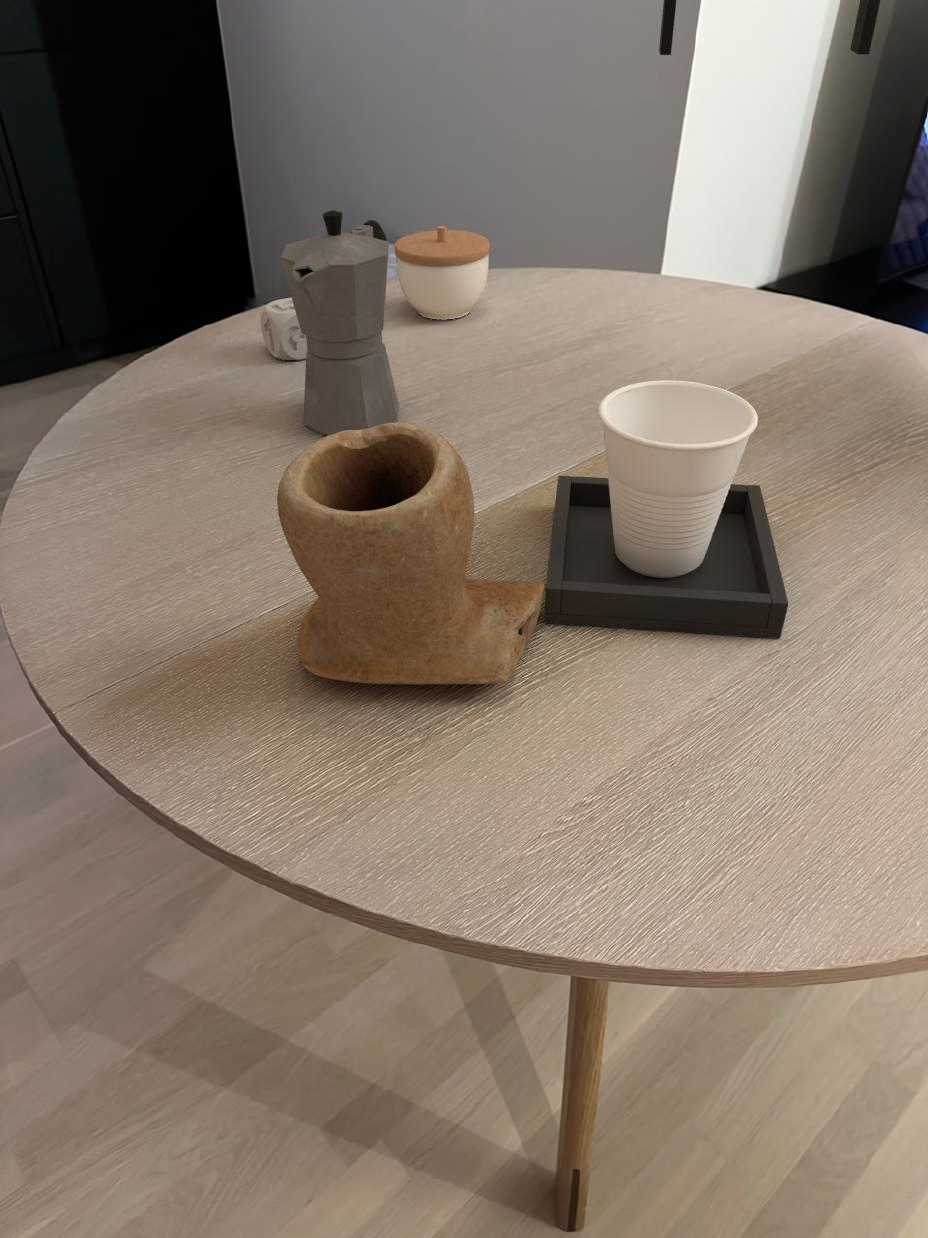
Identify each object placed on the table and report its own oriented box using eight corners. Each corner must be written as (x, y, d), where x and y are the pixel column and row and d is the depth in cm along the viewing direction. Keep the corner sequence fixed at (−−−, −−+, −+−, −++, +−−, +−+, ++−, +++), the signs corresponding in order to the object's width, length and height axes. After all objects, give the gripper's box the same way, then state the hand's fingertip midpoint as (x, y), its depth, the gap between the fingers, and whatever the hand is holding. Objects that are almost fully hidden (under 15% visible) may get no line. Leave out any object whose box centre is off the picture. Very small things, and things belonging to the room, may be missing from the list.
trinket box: (379, 316, 108) (373, 231, 102) (434, 290, 115) (431, 210, 109) (455, 334, 103) (453, 245, 97) (507, 306, 110) (508, 222, 104)
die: (264, 350, 100) (257, 303, 97) (306, 340, 102) (300, 294, 99) (283, 364, 96) (276, 317, 93) (326, 354, 99) (321, 307, 96)
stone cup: (275, 715, 54) (231, 489, 45) (322, 596, 63) (294, 389, 54) (535, 733, 53) (544, 503, 43) (544, 608, 62) (553, 397, 53)
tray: (753, 517, 71) (760, 485, 69) (780, 639, 59) (788, 603, 57) (556, 506, 73) (558, 475, 71) (544, 623, 61) (545, 588, 59)
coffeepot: (367, 455, 80) (347, 237, 69) (271, 439, 83) (238, 227, 72) (434, 386, 91) (427, 190, 80) (349, 374, 94) (330, 182, 83)
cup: (570, 580, 63) (579, 431, 56) (607, 509, 70) (619, 371, 64) (718, 610, 60) (746, 457, 53) (740, 533, 67) (767, 390, 61)
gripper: (1031, -372, 55) (929, 45, 68) (609, -349, 58) (587, 46, 71) (1080, -405, 49) (958, 58, 62) (608, -378, 52) (584, 59, 65)
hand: (760, 52), depth 67 cm, fingers open, 13 cm apart
